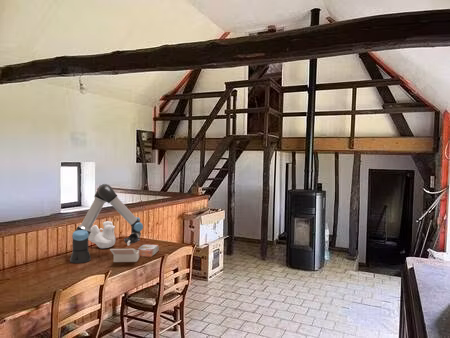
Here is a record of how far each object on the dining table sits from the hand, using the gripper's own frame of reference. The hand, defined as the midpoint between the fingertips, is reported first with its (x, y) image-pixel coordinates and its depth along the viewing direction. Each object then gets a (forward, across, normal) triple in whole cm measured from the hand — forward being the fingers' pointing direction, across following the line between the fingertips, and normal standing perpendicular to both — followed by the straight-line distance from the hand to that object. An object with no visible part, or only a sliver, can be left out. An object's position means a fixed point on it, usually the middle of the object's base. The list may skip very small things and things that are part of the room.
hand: (128, 243), depth 275 cm
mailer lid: (+6, +2, -5) cm, 8 cm away
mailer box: (-7, +3, -14) cm, 16 cm away
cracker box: (-36, -13, -12) cm, 40 cm away
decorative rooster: (-50, +34, -15) cm, 62 cm away
